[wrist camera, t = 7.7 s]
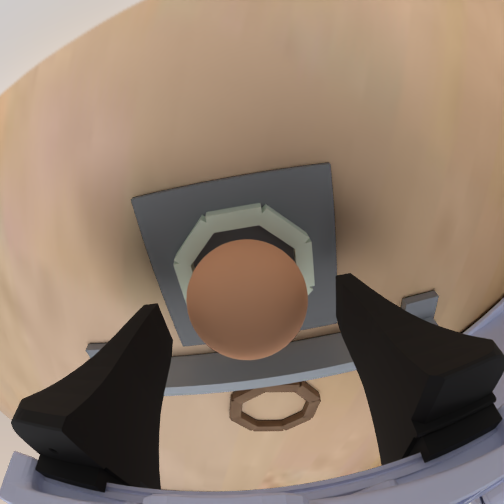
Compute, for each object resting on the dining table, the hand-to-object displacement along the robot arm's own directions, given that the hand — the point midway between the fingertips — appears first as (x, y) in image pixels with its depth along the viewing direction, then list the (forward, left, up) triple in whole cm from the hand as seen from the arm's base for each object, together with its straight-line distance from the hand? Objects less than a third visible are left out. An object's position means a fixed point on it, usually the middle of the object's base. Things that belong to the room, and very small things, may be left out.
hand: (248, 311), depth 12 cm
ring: (+6, +10, -4) cm, 13 cm away
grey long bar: (+3, +5, -4) cm, 7 cm away
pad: (0, 0, -4) cm, 4 cm away
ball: (0, 0, -3) cm, 3 cm away
